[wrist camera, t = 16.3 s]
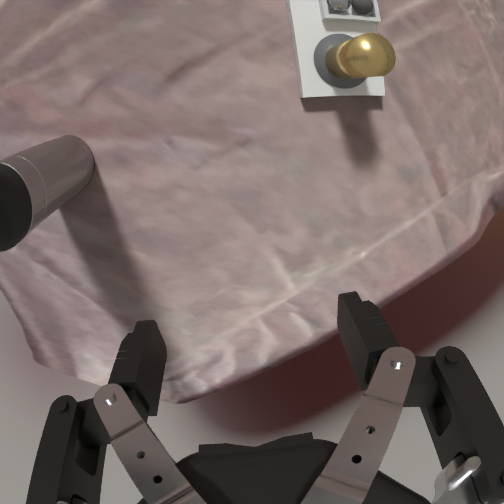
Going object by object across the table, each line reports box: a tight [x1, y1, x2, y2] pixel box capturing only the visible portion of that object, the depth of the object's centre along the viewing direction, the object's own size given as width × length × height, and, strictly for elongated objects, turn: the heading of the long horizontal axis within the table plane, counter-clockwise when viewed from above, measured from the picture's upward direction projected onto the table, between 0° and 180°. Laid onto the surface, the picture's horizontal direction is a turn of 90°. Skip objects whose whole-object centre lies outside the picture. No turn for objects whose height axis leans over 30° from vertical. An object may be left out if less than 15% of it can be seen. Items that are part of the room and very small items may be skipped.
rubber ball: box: [351, 0, 374, 14], centre depth 29 cm, size 3×3×3 cm
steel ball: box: [327, 0, 350, 12], centre depth 29 cm, size 3×3×3 cm
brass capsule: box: [325, 33, 396, 79], centre depth 30 cm, size 5×5×10 cm
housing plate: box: [286, 0, 385, 98], centre depth 33 cm, size 12×16×4 cm
